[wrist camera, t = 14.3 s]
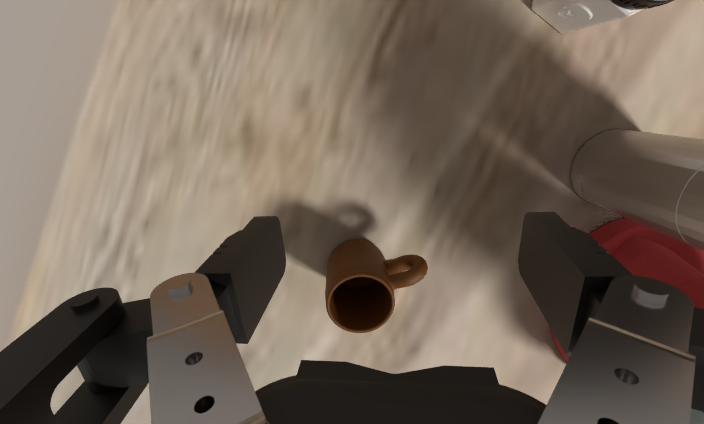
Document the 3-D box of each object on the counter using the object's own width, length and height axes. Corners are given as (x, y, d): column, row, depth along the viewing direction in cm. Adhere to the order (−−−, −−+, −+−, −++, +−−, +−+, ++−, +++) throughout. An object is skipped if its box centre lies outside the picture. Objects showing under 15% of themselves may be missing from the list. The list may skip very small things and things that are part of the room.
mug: (402, 212, 44) (418, 243, 35) (424, 261, 46) (445, 301, 37) (317, 252, 45) (311, 291, 36) (343, 297, 47) (344, 344, 38)
